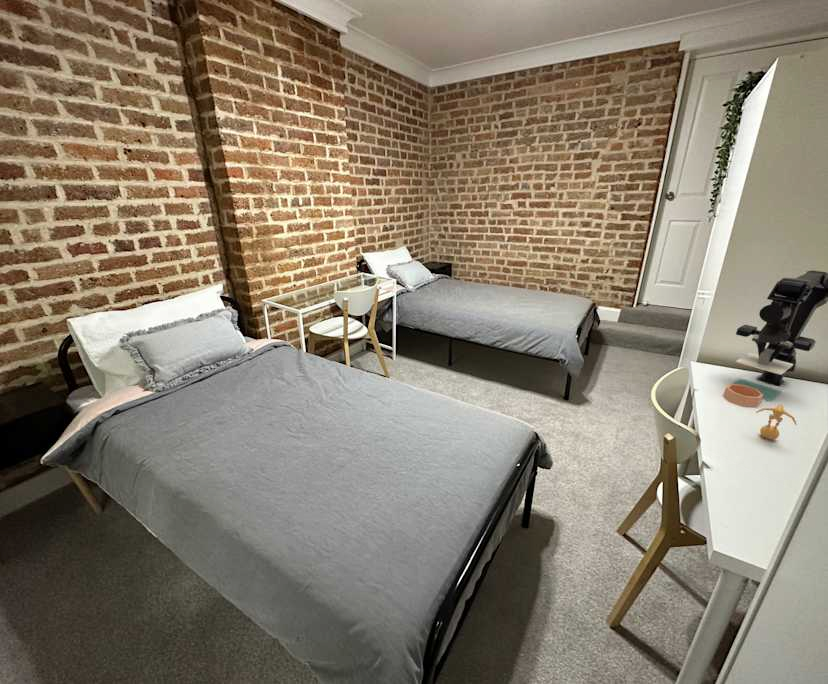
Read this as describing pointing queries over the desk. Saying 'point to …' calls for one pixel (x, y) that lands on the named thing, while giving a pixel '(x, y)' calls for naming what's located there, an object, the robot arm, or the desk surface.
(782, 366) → the lid
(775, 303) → the robot arm
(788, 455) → the desk surface
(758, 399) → the bowl
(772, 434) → the figurine
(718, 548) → the desk surface
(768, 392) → the mat
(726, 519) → the desk surface
